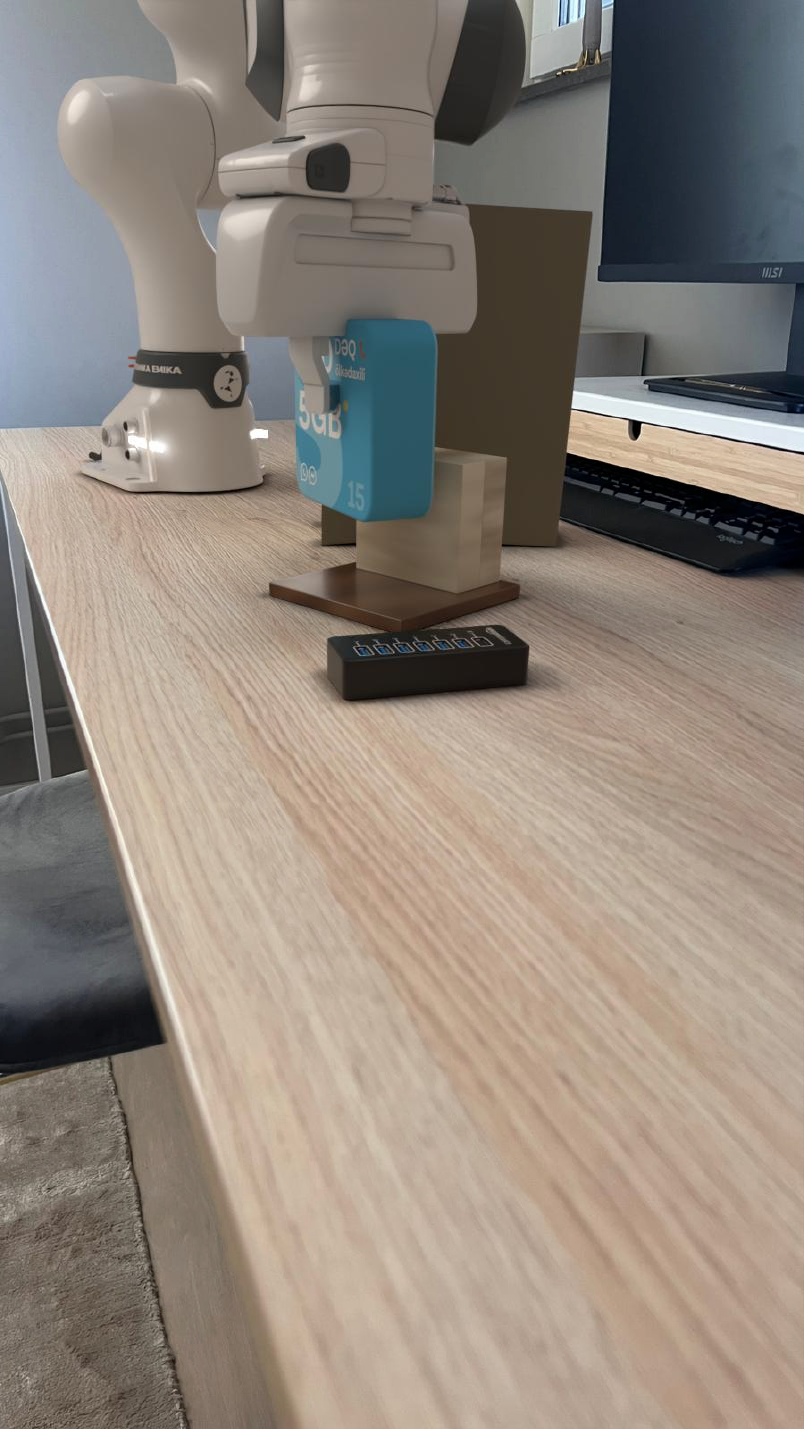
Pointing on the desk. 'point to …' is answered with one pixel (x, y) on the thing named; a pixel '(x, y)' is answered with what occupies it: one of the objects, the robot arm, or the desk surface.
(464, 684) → the multiport hub
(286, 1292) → the desk surface
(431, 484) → the data package
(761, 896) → the desk surface
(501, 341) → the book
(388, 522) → the wood block on base
